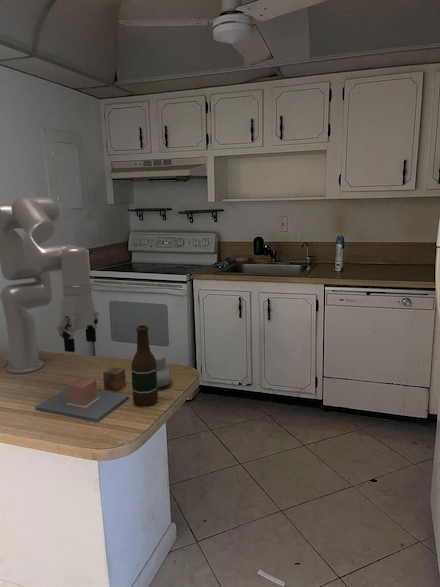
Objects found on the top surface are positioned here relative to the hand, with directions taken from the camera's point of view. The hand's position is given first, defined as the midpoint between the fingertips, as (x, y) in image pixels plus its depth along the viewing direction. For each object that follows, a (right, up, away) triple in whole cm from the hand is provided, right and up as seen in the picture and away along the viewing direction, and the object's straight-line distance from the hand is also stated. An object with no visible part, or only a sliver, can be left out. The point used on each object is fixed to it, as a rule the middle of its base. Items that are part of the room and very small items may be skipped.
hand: (81, 346), depth 131 cm
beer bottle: (+18, -18, +4) cm, 26 cm away
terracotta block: (0, -17, +3) cm, 17 cm away
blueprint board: (0, -18, +3) cm, 18 cm away
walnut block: (+7, -16, +15) cm, 23 cm away
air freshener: (+20, -15, +17) cm, 31 cm away
